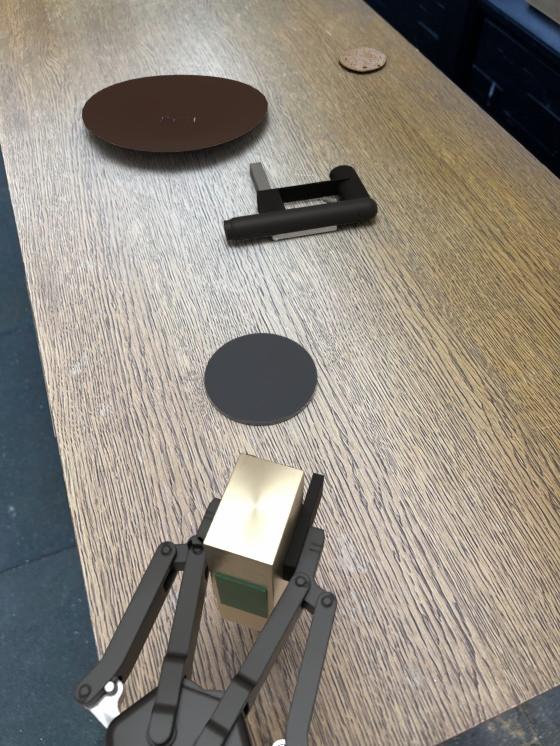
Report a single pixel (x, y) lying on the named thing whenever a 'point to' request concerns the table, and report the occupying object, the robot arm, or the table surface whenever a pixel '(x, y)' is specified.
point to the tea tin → (253, 538)
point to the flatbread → (362, 59)
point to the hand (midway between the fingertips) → (284, 474)
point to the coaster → (260, 379)
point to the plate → (174, 112)
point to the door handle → (303, 219)
